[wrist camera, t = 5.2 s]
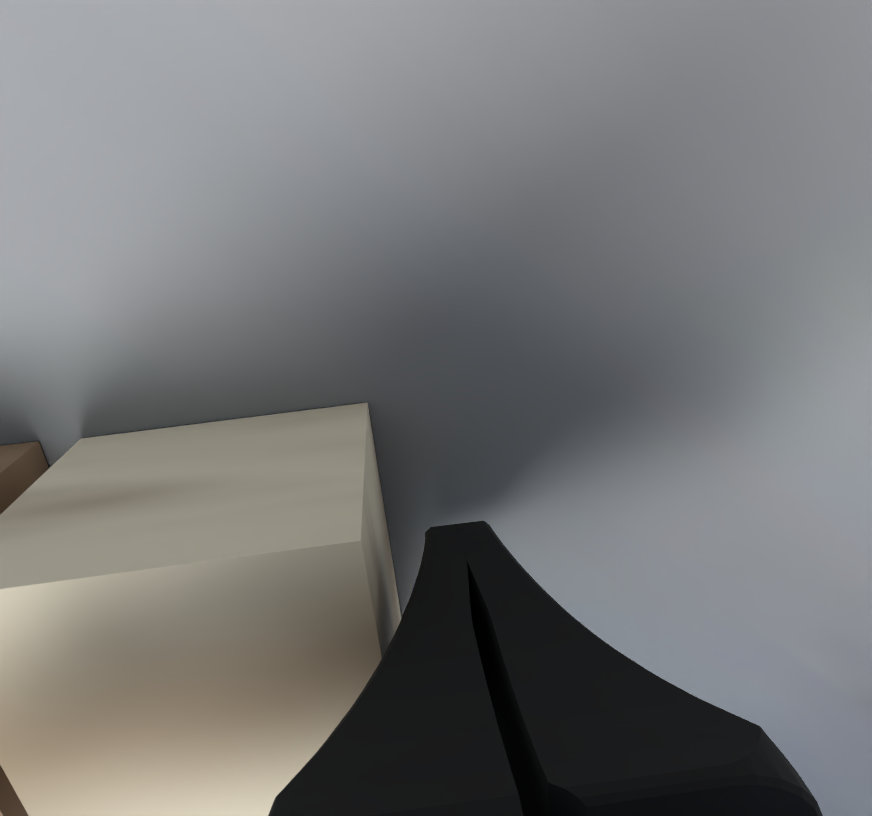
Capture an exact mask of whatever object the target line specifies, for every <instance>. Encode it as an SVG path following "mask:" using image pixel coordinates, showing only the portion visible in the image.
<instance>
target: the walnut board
mask: <svg viewBox="0 0 872 816" xmlns="http://www.w3.org/2000/svg"><path fill="white" fill-rule="evenodd" d="M48 469H49V467H48V464H47V462H46V459H45V456H44V454H43V451H42V449H41V446H40V443H39V441H35V442H27V443H18V444H9V445H1V446H0V515H1V514H2V513H3V512H4V511H5V510H6V509H7V508H8V507H9V506H10V505H11V504H12V503H13V502H14V501H15V500H16V499H17V498H18V497H20V496H21V495H22V494H23V493H24V492H25V491H26V490H27V489H28V488H29V487H30V486H31V485H32V484H33V483H34V482H35V481H36V480H37V479H38V478H39V477H41V476H42V475H43V474H44V473H45V472H46V471H47V470H48ZM0 816H29V815H28V813H27V812H26V810H25V808H24V806H23V805H22V803H21V801H20V799H19V797H18V796H17V794H16V792H15V790H14V788H13V787H12V785H11V783H10V781H9V779H8V778H7V776H6V774H5V772H4V770H3V769H2V767H1V765H0Z"/></svg>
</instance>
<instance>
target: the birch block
mask: <svg viewBox="0 0 872 816" xmlns="http://www.w3.org/2000/svg"><path fill="white" fill-rule="evenodd" d="M401 619H402V618H401V612H400V605H399V599H398V593H397V586H396V580H395V574H394V567H393V561H392V555H391V548H390V542H389V535H388V529H387V523H386V516H385V510H384V504H383V497H382V491H381V485H380V478H379V472H378V466H377V459H376V453H375V446H374V440H373V434H372V427H371V421H370V415H369V408H368V403H360V404H352V405H344V406H336V407H328V408H320V409H312V410H304V411H296V412H288V413H280V414H272V415H264V416H256V417H248V418H240V419H232V420H224V421H216V422H208V423H200V424H192V425H185V426H177V427H169V428H161V429H153V430H145V431H137V432H129V433H121V434H113V435H105V436H97V437H89V438H81V439H79V440H78V441H77V442H76V443H75V444H74V445H73V446H72V447H71V448H70V449H69V450H68V451H67V452H66V453H65V454H64V455H63V456H62V457H61V458H59V459H58V460H57V461H56V462H55V463H54V464H53V465H52V466H51V467H50V468H49V469H48V470H47V471H46V472H45V473H44V474H43V475H42V476H41V477H39V478H38V479H37V480H36V481H35V482H34V483H33V484H32V485H31V486H30V487H29V488H28V489H27V490H26V491H25V492H24V493H23V494H22V495H21V496H20V497H18V498H17V499H16V500H15V501H14V502H13V503H12V504H11V505H10V506H9V507H8V508H7V509H6V510H5V511H4V512H3V513H2V514H1V515H0V765H1V767H2V769H3V770H4V772H5V774H6V776H7V778H8V779H9V781H10V783H11V785H12V787H13V788H14V790H15V792H16V794H17V796H18V797H19V799H20V801H21V803H22V805H23V806H24V808H25V810H26V812H27V813H28V815H29V816H268V815H269V812H270V810H271V807H272V805H273V802H274V800H275V797H276V796H277V795H278V794H279V793H280V792H281V791H282V790H283V789H284V788H285V786H286V785H287V784H288V783H289V782H290V781H291V780H292V779H293V778H294V777H295V775H296V774H297V773H298V772H299V771H300V770H301V769H302V768H303V767H304V766H305V764H306V763H307V762H308V761H309V760H310V759H311V758H312V757H313V756H314V755H315V753H316V752H317V751H318V750H319V749H320V747H321V746H322V745H323V744H324V742H325V741H326V740H327V739H328V737H329V736H330V735H331V733H332V732H333V731H334V729H335V728H336V727H337V725H338V724H339V723H340V721H341V720H342V719H343V718H344V716H345V715H346V714H347V712H348V711H349V710H350V708H351V707H352V705H353V704H354V703H355V701H356V700H357V698H358V697H359V695H360V694H361V692H362V691H363V689H364V687H365V686H366V684H367V683H368V681H369V679H370V678H371V676H372V674H373V673H374V671H375V670H376V668H377V666H378V665H379V663H380V661H381V659H382V657H383V656H384V654H385V652H386V650H387V648H388V646H389V644H390V642H391V640H392V638H393V636H394V634H395V632H396V630H397V628H398V626H399V623H400V621H401Z"/></svg>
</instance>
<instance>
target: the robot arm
mask: <svg viewBox="0 0 872 816" xmlns="http://www.w3.org/2000/svg"><path fill="white" fill-rule="evenodd" d="M268 816H822V813H821V811H820V808H819V806H818V803H817V801H816V800H815V798H814V797H813V795H812V794H811V792H810V791H809V789H808V788H807V786H806V785H805V783H804V782H803V780H802V779H801V777H800V776H799V774H798V773H797V772H796V770H795V769H794V768H793V766H792V765H791V764H790V762H789V761H788V760H787V759H786V757H785V756H784V755H783V754H782V752H781V751H780V750H779V749H778V748H777V746H776V745H775V744H774V743H773V742H772V741H771V739H770V738H769V737H768V736H767V735H766V733H765V732H764V731H763V730H762V728H761V727H760V726H758V725H756V724H753V723H751V722H749V721H747V720H745V719H742V718H740V717H738V716H736V715H734V714H731V713H729V712H727V711H725V710H723V709H721V708H718V707H716V706H714V705H712V704H710V703H707V702H705V701H703V700H701V699H699V698H697V697H695V696H693V695H691V694H689V693H687V692H685V691H684V690H682V689H680V688H678V687H676V686H674V685H672V684H671V683H669V682H667V681H665V680H663V679H661V678H660V677H658V676H656V675H655V674H653V673H651V672H649V671H648V670H646V669H645V668H643V667H642V666H640V665H638V664H637V663H635V662H634V661H632V660H631V659H629V658H628V657H626V656H624V655H623V654H621V653H620V652H618V651H617V650H615V649H614V648H612V647H611V646H610V645H608V644H607V643H605V642H604V641H603V640H601V639H600V638H599V637H597V636H596V635H595V634H593V633H592V632H591V631H590V630H588V629H587V628H586V627H585V626H583V625H582V624H581V623H580V622H578V621H577V620H576V619H575V618H574V617H573V616H571V615H570V614H569V613H568V612H567V611H566V610H565V609H563V608H562V607H561V606H560V605H559V604H558V603H557V602H556V601H555V600H554V599H553V598H552V597H551V596H550V595H549V594H547V593H546V592H545V591H544V590H543V589H542V588H541V587H540V586H539V585H538V583H537V582H536V581H535V580H534V579H533V578H532V577H531V576H530V575H529V574H528V573H527V572H526V571H525V569H524V568H523V567H522V566H521V565H520V564H519V563H518V562H517V561H516V559H515V558H514V557H513V556H512V555H511V553H510V552H509V551H508V550H507V548H506V547H505V546H504V545H503V543H502V542H501V541H500V540H499V538H498V537H497V535H496V534H495V533H494V531H493V530H492V528H491V527H490V525H489V524H487V523H486V522H485V521H477V522H469V523H461V524H453V525H445V526H437V527H430V528H429V529H428V530H427V531H426V533H425V547H424V553H423V557H422V561H421V565H420V569H419V572H418V576H417V579H416V582H415V585H414V588H413V591H412V594H411V597H410V599H409V602H408V604H407V607H406V609H405V611H404V614H403V616H402V619H401V621H400V623H399V626H398V628H397V630H396V632H395V634H394V636H393V638H392V640H391V642H390V644H389V646H388V648H387V650H386V652H385V654H384V656H383V657H382V659H381V661H380V663H379V665H378V666H377V668H376V670H375V671H374V673H373V674H372V676H371V678H370V679H369V681H368V683H367V684H366V686H365V687H364V689H363V691H362V692H361V694H360V695H359V697H358V698H357V700H356V701H355V703H354V704H353V705H352V707H351V708H350V710H349V711H348V712H347V714H346V715H345V716H344V718H343V719H342V720H341V721H340V723H339V724H338V725H337V727H336V728H335V729H334V731H333V732H332V733H331V735H330V736H329V737H328V739H327V740H326V741H325V742H324V744H323V745H322V746H321V747H320V749H319V750H318V751H317V752H316V753H315V755H314V756H313V757H312V758H311V759H310V760H309V761H308V762H307V763H306V764H305V766H304V767H303V768H302V769H301V770H300V771H299V772H298V773H297V774H296V775H295V777H294V778H293V779H292V780H291V781H290V782H289V783H288V784H287V785H286V786H285V788H284V789H283V790H282V791H281V792H280V793H279V794H278V795H277V796H276V797H275V800H274V802H273V805H272V807H271V810H270V812H269V815H268Z"/></svg>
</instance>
